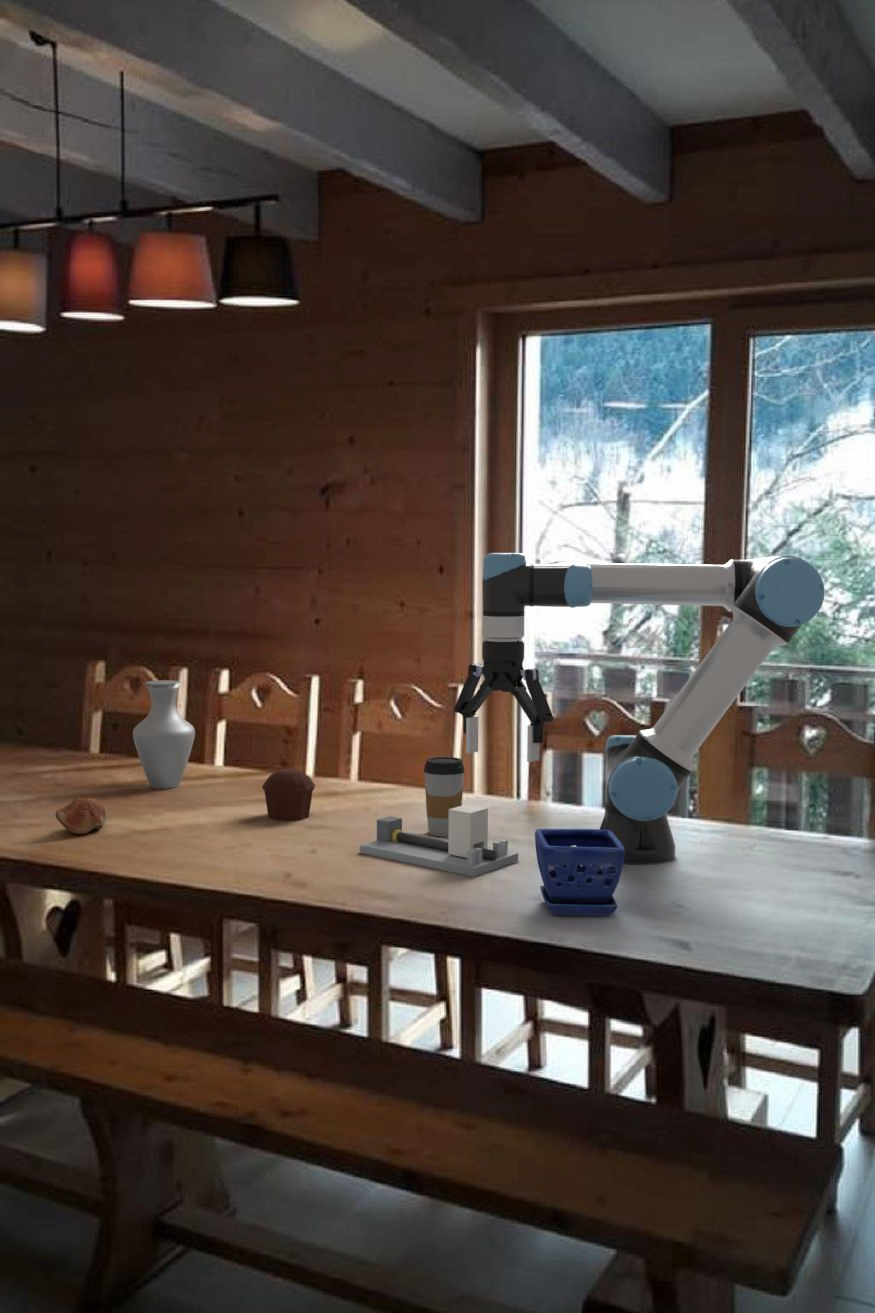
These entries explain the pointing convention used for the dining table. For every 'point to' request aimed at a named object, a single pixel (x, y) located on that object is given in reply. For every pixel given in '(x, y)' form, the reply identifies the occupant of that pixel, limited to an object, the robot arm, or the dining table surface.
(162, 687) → the vase
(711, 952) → the dining table surface
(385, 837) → the sliding block rail
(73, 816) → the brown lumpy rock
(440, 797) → the coffee cup
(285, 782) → the muffin
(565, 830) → the flower pot
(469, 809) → the cream rail slider block
